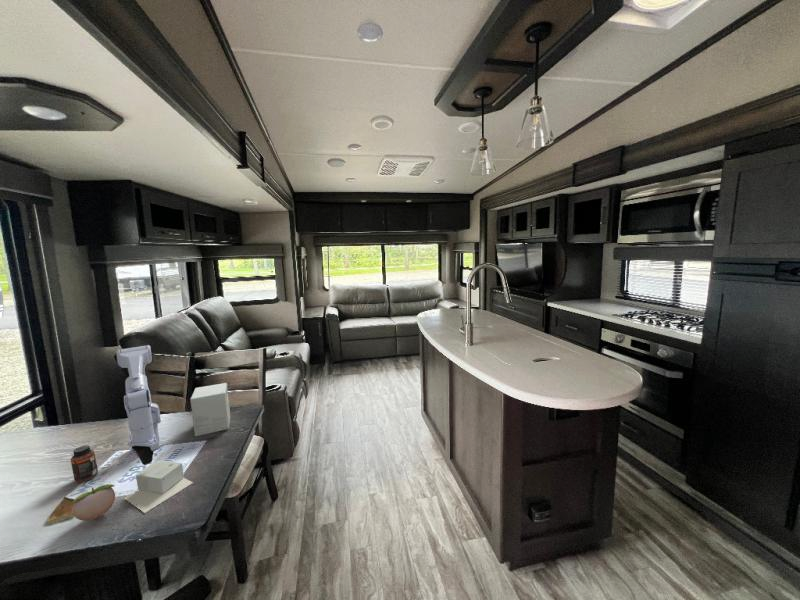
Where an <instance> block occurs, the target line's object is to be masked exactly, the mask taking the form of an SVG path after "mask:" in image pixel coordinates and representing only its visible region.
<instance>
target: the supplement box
mask: <svg viewBox="0 0 800 600" xmlns="http://www.w3.org/2000/svg"><path fill="white" fill-rule="evenodd" d="M190 406H191V415H192V421H193V431H194V437H198V436H203V435H209V434H213V433H216V432H220V431H225V430H229V429H230V423H231V410H230V409H231V408H230V400H229V392H228V383H227V382H223V383H218V384H211V385H206V386H199V387H195V388H194V391H193V393H192V395H191V397H190Z"/></svg>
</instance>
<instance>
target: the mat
mask: <svg viewBox="0 0 800 600" xmlns="http://www.w3.org/2000/svg"><path fill="white" fill-rule="evenodd" d="M192 484H194V482H193V481H191V480H189V479H187V478H185V476H184V477H183V478H182V479H181V480H180V481H178V482H177V483H176V484H175V485H173V486H172V487H171V488H170V489H168V490H167V491H166V492H165V493H156V492H149V491H143V490H139V491H138V490H136V491H134V492H133V493H135V494H133V493H131V494H132V495H131V494H129V495H127V496H126V497H124V498H123V500H125V501H126V500H127V501H128V503H129V502H130V503H131V504H130V503H129V504H130V505H132V504H133V505H134V506H133V505H132V506H133V507H135V506H136V505H135V504H137V506H136V507H137V508H138V510H139V509H140V510H141V511H140V510H139V511H140V512H142V513H143V514H147V513H148V512H150V511H151V509H152V510H153V509H155V508H157V507H158V506H160V505H161V504H163V503H164V502H166V501H168V500H169V499H171V498H173V496H175V495H177V494H179V493H180V492H182V491H184V490H185V489H186V488H189V486H191V485H192ZM127 501H126V502H127ZM162 502H163V503H162ZM159 504H160V505H159ZM157 505H158V506H157ZM136 507H135V508H136ZM137 508H136V509H137Z"/></svg>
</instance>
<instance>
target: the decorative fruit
mask: <svg viewBox="0 0 800 600" xmlns="http://www.w3.org/2000/svg"><path fill="white" fill-rule="evenodd" d="M115 486H116V485H114V484H104V485H103V484H102V485H100V486H97V487H95V488H94V486H93V487H91V490H90V491H86V492H83V493H81V494H79V495H78V496H76V498H73V499H74V500H73V502H72V503H74V502H75V503H74V505H73V515H74V517H75V519H77V520H79V521H82V522H88V521H92V520H95V519H98V518H100V517H101V516H103V515H104V514H106V513H107V512H108V511H109V510H110V509H112V506H113V504H114V503H115V499H116V492H115V490H114V489H113V487H115ZM72 503H71V504H72Z"/></svg>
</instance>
